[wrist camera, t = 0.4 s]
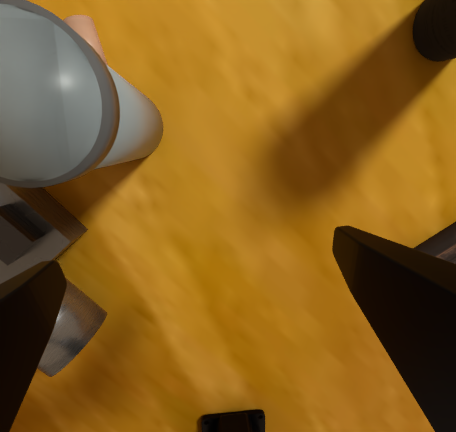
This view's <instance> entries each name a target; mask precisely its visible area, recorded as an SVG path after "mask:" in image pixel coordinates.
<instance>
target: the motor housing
mask: <svg viewBox="0 0 456 432" xmlns="http://www.w3.org/2000/svg"><path fill="white" fill-rule="evenodd" d="M87 230H88V229H87V228H86V227H85V226H84V225H82V224H81V223H80V222H79V221H78V220H77V219H76V218H75V217H74V216H73V215H71V214H70V213H69V212H68V211H67V210H66V209H65V208H64V207H63V206H62V205H60V204H59V203H58V202H57V201H56V200H55V199H54V198H53V197H52V196H51V195H49V194H48V193H47V192H46V191H45V190H44V189H43V188H42V187H37V188H25V187H16V186H11V185H6V184H3V183H0V284H1V283H3V282H5V281H7V280H9V279H10V278H12V277H14V276H16V275H18V274H20V273H21V272H23V271H25V270H27V269H29V268H31V267H32V266H34V265H36V264H38V263H40V262H42V261H50V260H55V259H57V258H58V257H59V256H60V255H61V254H62V253H63V252H64V251H65V250H66V249H67V248H68V247H70V246H71V245H72V244H73V243H74V242H75V241H76V240H77V239H78V238H79V237H80V236H81V235H83V234H84V233H85V232H86V231H87ZM66 281H67V288H66V292H65V295H64V298H63V301H62V304H61V308H60V311H59V314H58V317H57V320H56V324H55V326H54V329H53V332H52V335H51V337H50V339H49V342H48V344H47V346H46V349H45V351H44V353H43V356H42V358H41V360H40V362H39V365H38V367H37V368H38V369H39V370H41V371H42V372H43V373H45V374H46V375H48V376H49V377H52V376H54V375H55V374H57V373H58V372H59V371H61V370H62V369H63V368H64V367H65V366H66V365H67V364H68V363H69V362H70V361H71V360H72V359H73V358H74V357H75V356H76V355H77V354H78V353H79V352H80V351H81V350H82V349H83V348H84V346H85V345H86V344H87V343H88V342H89V341H90V339H91V338H92V337H93V336H94V334H95V333H96V332H97V330H98V329H99V328H100V326H101V325H102V323H103V321H104V320H105V318H106V316H107V312H106V311H105V310H103V309H102V308H101V307H100V306H99V305H97V304H96V303H95V302H94V301H93V300H91V299H90V298H89V297H88V296H87V295H85V294H84V293H83V292H82V291H81V290H79V289H78V288H77V287H76V286H75V285H73V284H72V283H71V282H70V281H69V280H67V279H66Z"/></svg>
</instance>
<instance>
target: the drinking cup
mask: <svg viewBox="0 0 456 432" xmlns="http://www.w3.org/2000/svg"><path fill="white" fill-rule="evenodd" d="M413 38H414V42H415V45H416V47H417V49H418V51H419V52H420V53H421V54H422V55H423V56H424V57H425V58H427V59H429V60H432V61H445V60H449V59H453V58H456V0H425V1H424V2H423V4H422V5H421V6H420V8H419V10H418V12H417V14H416V17H415V20H414V25H413Z"/></svg>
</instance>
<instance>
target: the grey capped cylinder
mask: <svg viewBox="0 0 456 432" xmlns="http://www.w3.org/2000/svg"><path fill="white" fill-rule="evenodd" d="M162 134H163V122H162V118H161V115H160V112H159V111H158V109H157V107H156V106H155V104H154V103H153V102H152V101H151V100H150V99H149V98H147V97H146V96H145V95H144V94H142V93H141V92H140V91H139V90H137V89H136V88H135V87H134V86H132V85H131V84H130V83H129V82H127V81H126V80H125V79H124V78H122V77H121V76H120V75H119V74H117V73H116V72H115V71H114V70H112V69H111V68H110V67H109V66H108V65H107V62H106V58H105V55H104V52H103V49H102V46H101V43H100V40H99V37H98V34H97V31H96V28H95V25H94V22H93V19H92V18H90V17H88V16H85V15H74V16H70V17H67V18H65V19H64V20H61V19H60V18H58V17H57V16H56V15H54V14H53V13H51V12H50V11H48V10H46V9H44V8H42V7H41V6H38V5H36V4H34V3H31V2H29V1H26V0H0V183H3V184H6V185H11V186H16V187H25V188H37V187H46V186H51V185H55V184H59V183H63V182H66V181H70V180H73V179H76V178H79V177H81V176H83V175H85V174H87V173H89V172H90V171H92V170H93V169H97V168H102V167H106V166H111V165H115V164H119V163H124V162H128V161H132V160H137V159H141V158H144V157H146V156H148V155H149V154H151V153H152V152H153V151H154V150H155V149H156V148H157V147H158V145H159V143H160V141H161V138H162Z"/></svg>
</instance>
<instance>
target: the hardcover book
mask: <svg viewBox="0 0 456 432" xmlns="http://www.w3.org/2000/svg"><path fill="white" fill-rule="evenodd" d="M413 249H415V250H418V251H421V252H424V253H427V254H429V255H432V256H435V257H438V258H441V259H443V260H446V261H449V262H452V263H455V264H456V222H455V223H453V224H451V225H450V226H448V227H447V228H445V229H443V230H442V231H440V232H439V233H437V234H435V235H434V236H432V237H431V238H429V239H428V240H426V241H424V242H423V243H421V244H420V245H418V246H416V247H415V248H413Z"/></svg>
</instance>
